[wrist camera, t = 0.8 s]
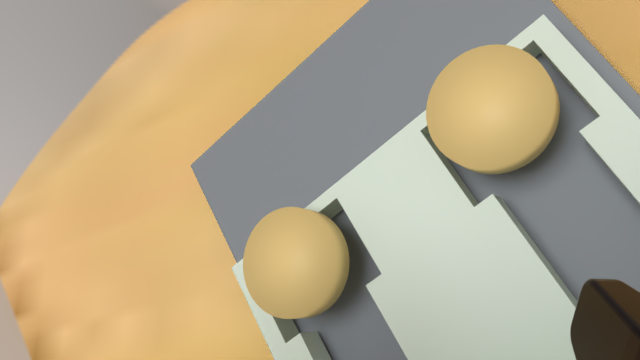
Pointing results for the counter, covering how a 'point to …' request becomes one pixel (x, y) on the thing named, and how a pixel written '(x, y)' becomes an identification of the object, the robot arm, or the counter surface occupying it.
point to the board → (383, 106)
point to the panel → (462, 239)
